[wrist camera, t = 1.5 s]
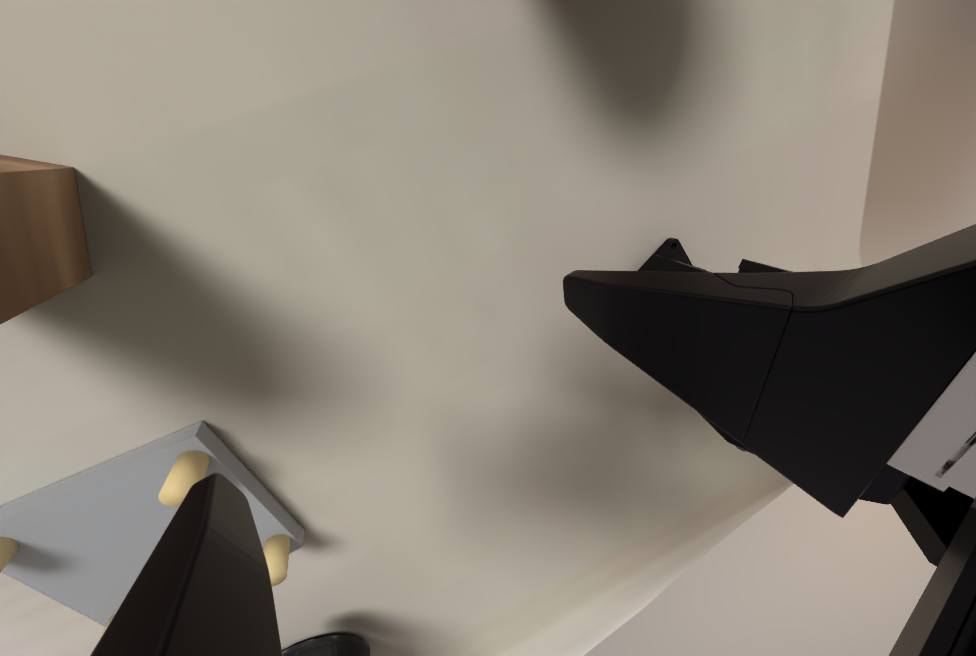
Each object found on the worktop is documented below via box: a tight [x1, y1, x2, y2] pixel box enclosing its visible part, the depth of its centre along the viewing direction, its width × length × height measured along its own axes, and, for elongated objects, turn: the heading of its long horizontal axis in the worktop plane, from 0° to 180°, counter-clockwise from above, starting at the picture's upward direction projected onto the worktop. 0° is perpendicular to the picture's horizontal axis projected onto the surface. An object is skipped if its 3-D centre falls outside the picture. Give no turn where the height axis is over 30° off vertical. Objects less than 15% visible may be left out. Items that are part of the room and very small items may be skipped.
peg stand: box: [0, 421, 304, 639], centre depth 19 cm, size 10×10×3 cm
